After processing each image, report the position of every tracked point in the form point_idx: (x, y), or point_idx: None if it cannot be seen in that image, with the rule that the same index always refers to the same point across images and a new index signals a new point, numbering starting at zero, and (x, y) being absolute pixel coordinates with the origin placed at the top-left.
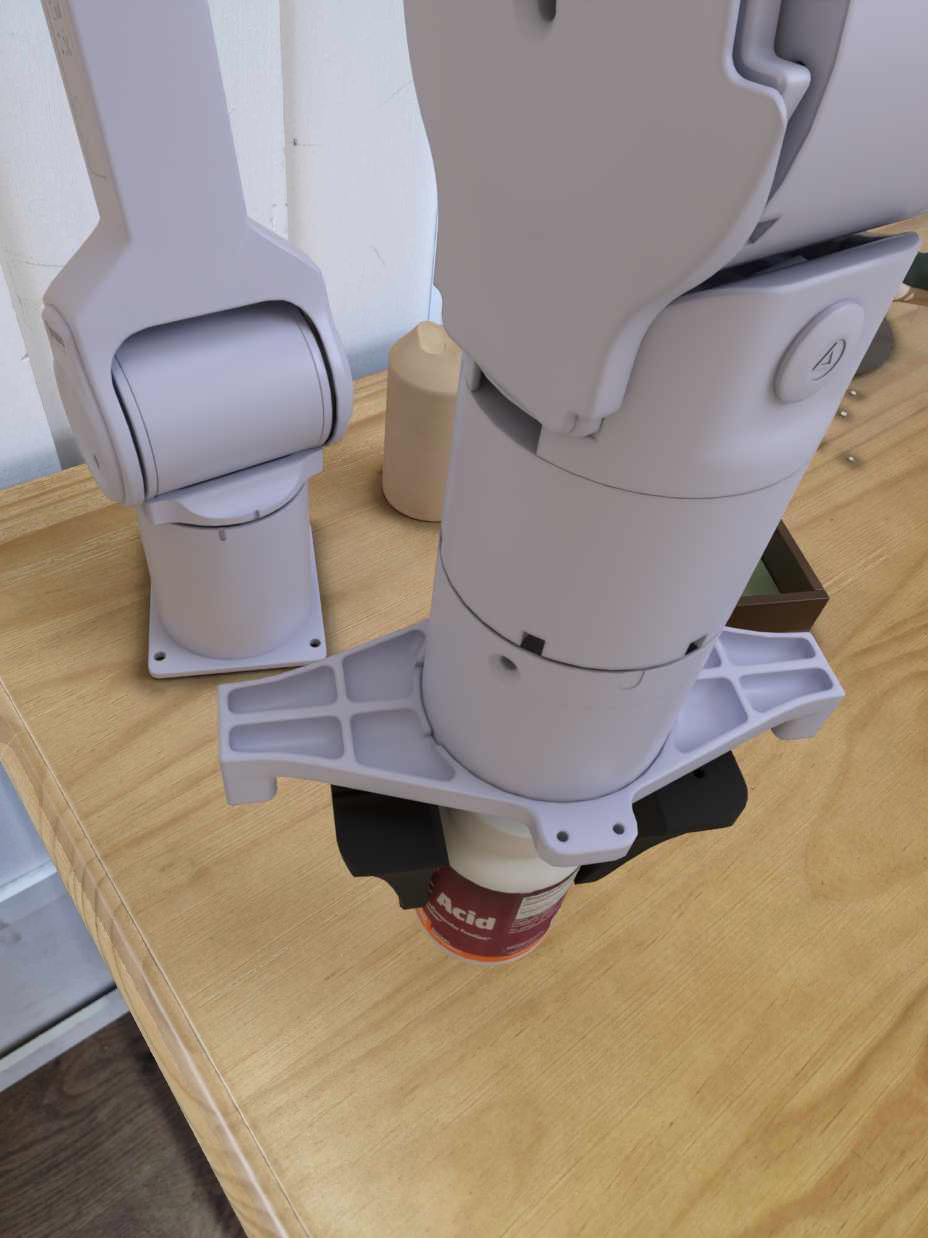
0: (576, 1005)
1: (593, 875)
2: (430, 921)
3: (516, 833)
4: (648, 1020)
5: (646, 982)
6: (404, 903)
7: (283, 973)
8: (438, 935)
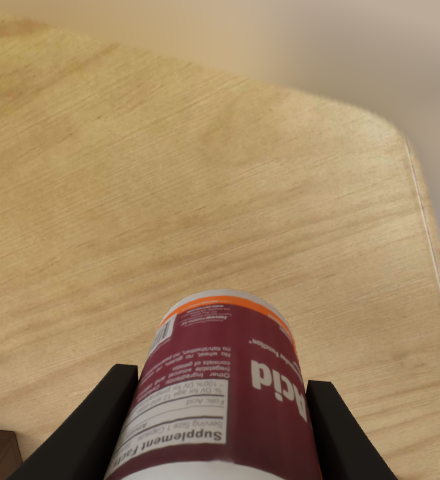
0: (152, 216)
1: (113, 395)
2: (294, 352)
3: None
4: (97, 193)
5: (92, 219)
6: (350, 414)
7: (362, 284)
8: (287, 335)
